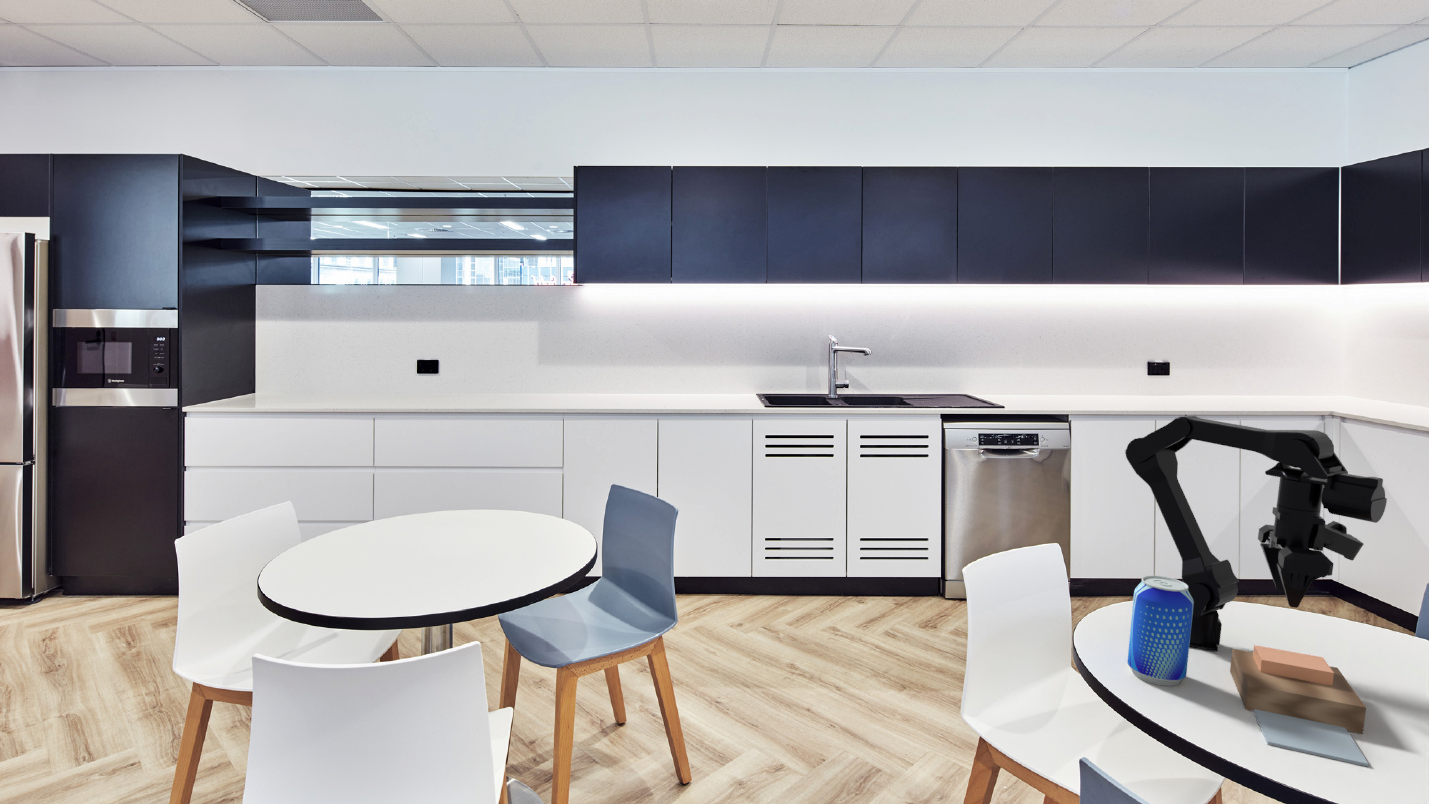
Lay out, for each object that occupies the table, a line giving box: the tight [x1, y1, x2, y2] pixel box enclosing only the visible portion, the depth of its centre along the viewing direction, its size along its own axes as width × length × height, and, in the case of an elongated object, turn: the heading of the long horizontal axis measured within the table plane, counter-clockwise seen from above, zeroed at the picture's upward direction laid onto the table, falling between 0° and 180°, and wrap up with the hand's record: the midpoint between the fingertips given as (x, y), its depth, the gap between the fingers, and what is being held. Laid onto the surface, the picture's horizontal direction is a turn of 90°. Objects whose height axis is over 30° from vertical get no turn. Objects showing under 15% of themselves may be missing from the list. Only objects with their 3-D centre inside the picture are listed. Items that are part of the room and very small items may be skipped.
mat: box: [1253, 709, 1369, 767], centre depth 107 cm, size 11×10×1 cm
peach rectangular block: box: [1252, 644, 1334, 685], centre depth 119 cm, size 9×6×2 cm, turn 64°
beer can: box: [1127, 575, 1194, 687], centre depth 124 cm, size 8×8×16 cm
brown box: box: [1229, 648, 1367, 735], centre depth 118 cm, size 14×14×4 cm
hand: (1286, 598), depth 126 cm, fingers open, 8 cm apart
